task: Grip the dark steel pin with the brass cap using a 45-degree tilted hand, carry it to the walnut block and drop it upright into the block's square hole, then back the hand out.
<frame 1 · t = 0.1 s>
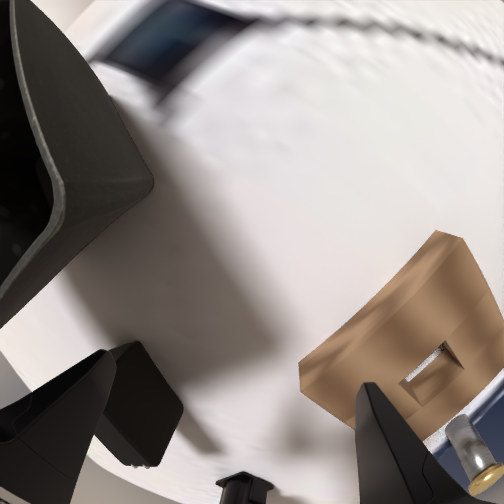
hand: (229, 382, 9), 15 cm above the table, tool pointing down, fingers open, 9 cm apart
electronic device: (149, 377, 28), on the table
flower pot: (87, 173, 24), on the table
socket block: (416, 353, 24), on the table
pin: (456, 424, 26), on the table
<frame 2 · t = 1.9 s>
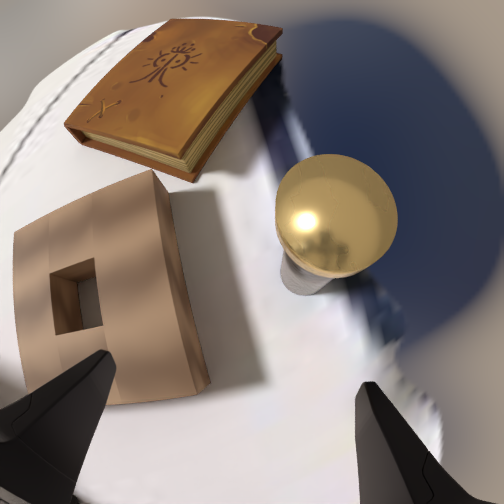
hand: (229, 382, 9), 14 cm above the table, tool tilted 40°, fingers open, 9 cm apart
diary: (180, 94, 31), on the table
socket block: (100, 303, 24), on the table
pin: (304, 271, 23), on the table
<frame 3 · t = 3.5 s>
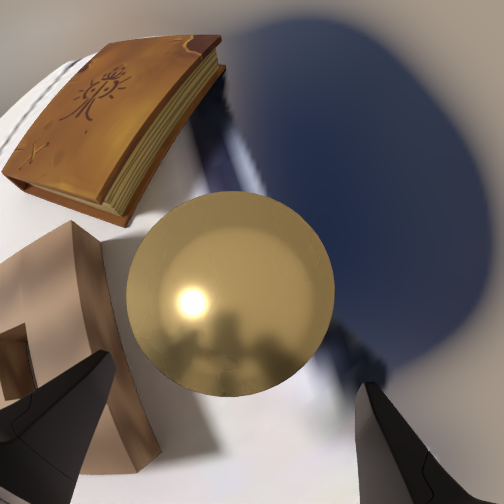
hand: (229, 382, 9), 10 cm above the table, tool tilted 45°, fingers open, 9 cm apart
diary: (117, 125, 27), on the table
socket block: (47, 366, 18), on the table
pin: (253, 326, 19), on the table
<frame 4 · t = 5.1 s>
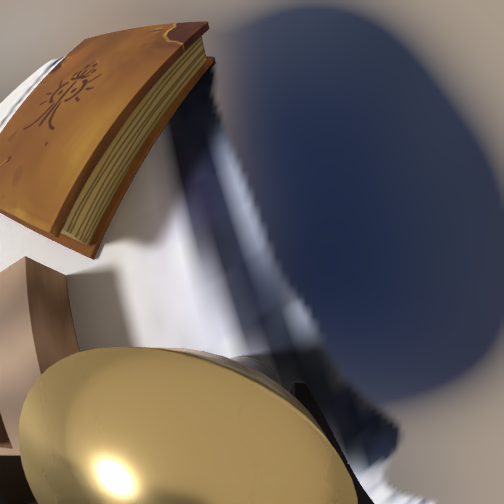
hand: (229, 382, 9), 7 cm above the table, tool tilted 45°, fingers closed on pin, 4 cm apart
diary: (90, 130, 23), on the table
socket block: (22, 408, 14), on the table
pin: (243, 390, 14), on the table, touching gripper
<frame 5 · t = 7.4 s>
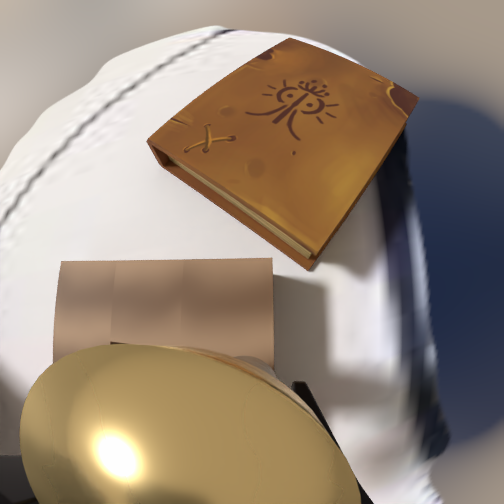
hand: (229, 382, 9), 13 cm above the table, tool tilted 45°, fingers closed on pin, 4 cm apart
diary: (294, 139, 29), on the table
socket block: (165, 377, 21), on the table
pin: (243, 389, 14), point 7 cm above the table, touching gripper
when the fingers open (7 cm above the table, at t = 9.8 s): pin stays where it is, resting in socket block.
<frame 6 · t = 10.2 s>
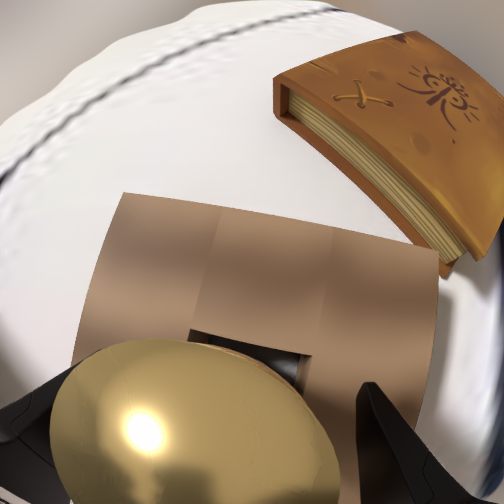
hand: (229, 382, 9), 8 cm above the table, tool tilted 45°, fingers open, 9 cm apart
diary: (422, 132, 22), on the table
socket block: (244, 387, 15), on the table
pin: (244, 389, 15), resting in socket block
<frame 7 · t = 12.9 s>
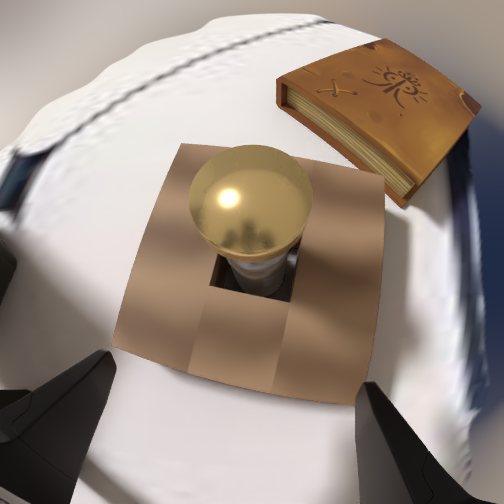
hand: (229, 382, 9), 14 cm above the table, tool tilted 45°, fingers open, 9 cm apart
electronic device: (51, 432, 19), on the table
diary: (387, 115, 30), on the table
socket block: (260, 272, 24), on the table
pin: (259, 273, 24), resting in socket block
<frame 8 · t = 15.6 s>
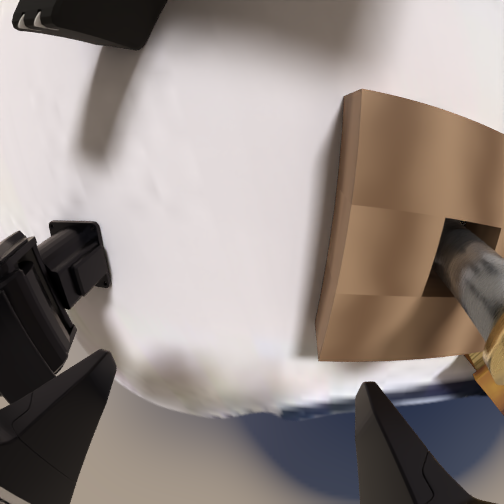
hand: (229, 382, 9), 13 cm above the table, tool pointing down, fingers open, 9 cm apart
socket block: (437, 235, 18), on the table
pin: (436, 235, 18), resting in socket block
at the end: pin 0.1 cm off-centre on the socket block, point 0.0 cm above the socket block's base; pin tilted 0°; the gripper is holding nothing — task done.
